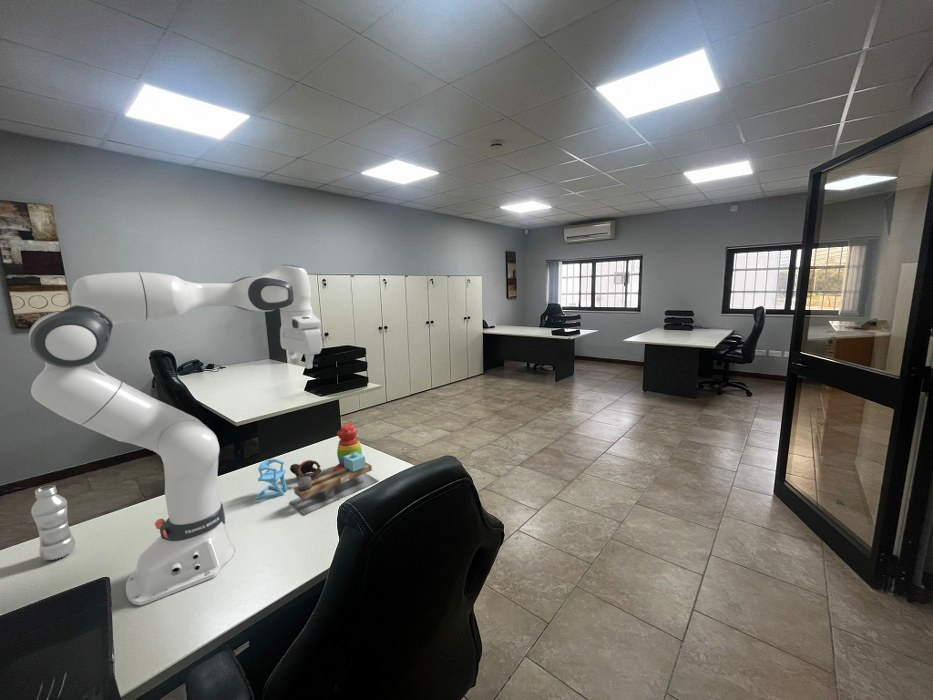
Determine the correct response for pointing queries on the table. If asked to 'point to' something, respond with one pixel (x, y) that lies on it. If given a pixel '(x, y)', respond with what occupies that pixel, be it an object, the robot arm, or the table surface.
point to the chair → (272, 478)
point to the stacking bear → (347, 444)
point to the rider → (354, 461)
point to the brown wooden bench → (330, 488)
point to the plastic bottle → (52, 523)
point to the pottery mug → (306, 469)
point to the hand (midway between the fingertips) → (301, 366)
